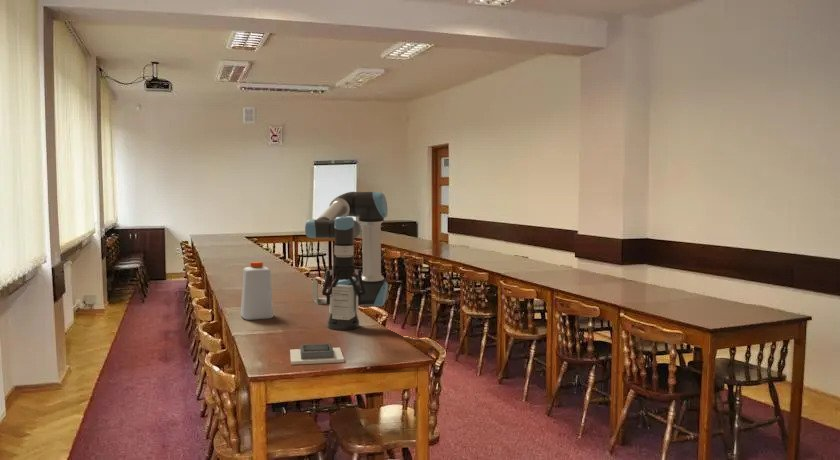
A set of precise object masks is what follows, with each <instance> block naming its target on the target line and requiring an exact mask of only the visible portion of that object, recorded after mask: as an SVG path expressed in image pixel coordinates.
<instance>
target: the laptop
mask: <svg viewBox="0 0 840 460" xmlns="http://www.w3.org/2000/svg"><path fill="white" fill-rule="evenodd" d="M312 300H313V301H314V302H315V303H316V304H317V305H327V296H325V297H319V282H318V280H316V278H314V277H312Z"/></svg>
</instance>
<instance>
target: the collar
mask: <svg viewBox="0 0 840 460" xmlns="http://www.w3.org/2000/svg"><path fill="white" fill-rule="evenodd" d="M333 348H334V347H333V346H332V343H314V344H313V343H312V344H307V343H306V344H299V349H300V355H301V359H316V358H334V351H333ZM304 351H311V352H304Z"/></svg>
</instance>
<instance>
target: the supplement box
mask: <svg viewBox="0 0 840 460" xmlns="http://www.w3.org/2000/svg"><path fill="white" fill-rule="evenodd" d="M353 317H355V289H354V287H353V285H337V286H335V287H332V319H342V320H350V319H351V318H353Z"/></svg>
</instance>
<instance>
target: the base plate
mask: <svg viewBox="0 0 840 460" xmlns="http://www.w3.org/2000/svg"><path fill="white" fill-rule="evenodd" d="M332 348H333V351H334V358H316V359H301V355H300V348H299V349H297V348H296V349H295V348H294V349H293V348H292V349H289V355H290V365H291V366H292V365H293V366H294V365H311V364H313V365H314V364H335V363H337V364H339V363H345V357H344V355H343V353H342V350H341V347H332ZM304 352H311V351H304Z"/></svg>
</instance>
